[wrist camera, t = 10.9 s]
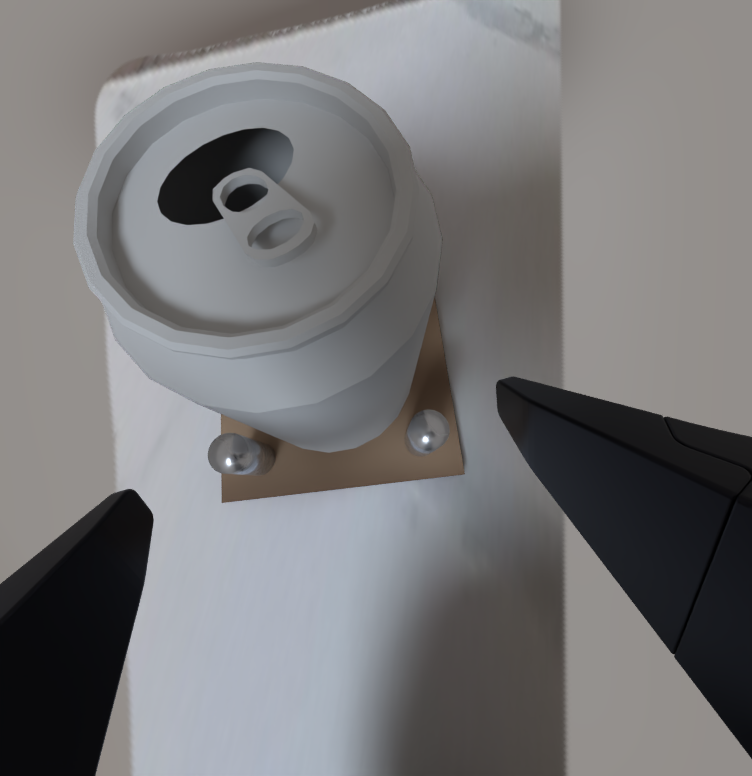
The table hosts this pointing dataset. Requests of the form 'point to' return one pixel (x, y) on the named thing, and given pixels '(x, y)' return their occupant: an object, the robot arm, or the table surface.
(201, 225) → the can
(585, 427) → the robot arm
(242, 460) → the standoff plate
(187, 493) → the table surface
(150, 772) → the table surface
